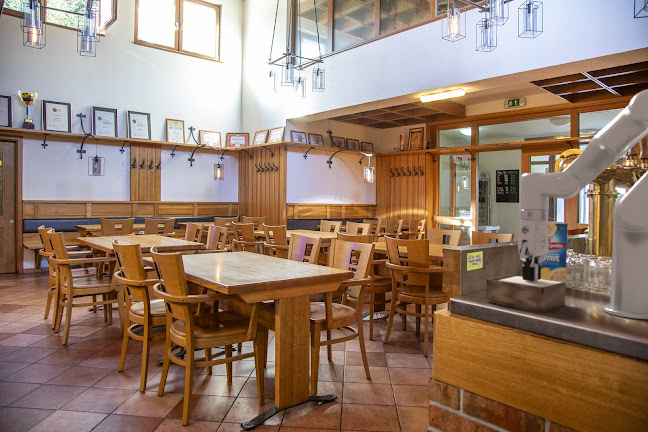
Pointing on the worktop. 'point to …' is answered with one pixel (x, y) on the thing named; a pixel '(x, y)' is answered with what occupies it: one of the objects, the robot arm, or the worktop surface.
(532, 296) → the walnut box
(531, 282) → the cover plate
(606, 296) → the worktop surface
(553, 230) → the beverage box
